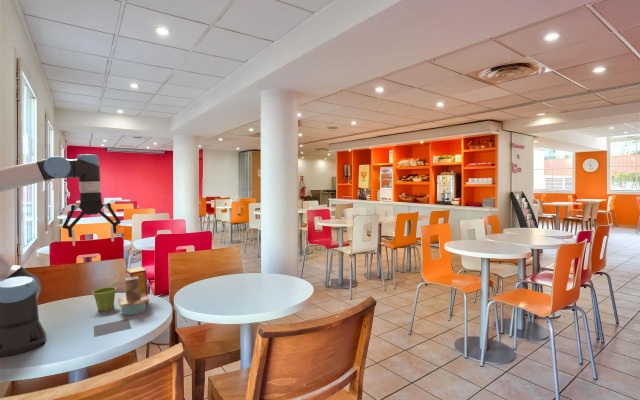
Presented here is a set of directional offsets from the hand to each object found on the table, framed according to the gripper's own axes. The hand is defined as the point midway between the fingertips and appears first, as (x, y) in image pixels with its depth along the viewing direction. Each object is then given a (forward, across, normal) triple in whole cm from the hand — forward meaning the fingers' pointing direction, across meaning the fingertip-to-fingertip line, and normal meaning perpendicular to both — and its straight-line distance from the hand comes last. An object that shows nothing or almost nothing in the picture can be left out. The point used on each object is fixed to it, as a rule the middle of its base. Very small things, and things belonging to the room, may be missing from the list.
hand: (93, 243), depth 147 cm
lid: (+27, +13, -2) cm, 30 cm away
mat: (+32, +4, -17) cm, 36 cm away
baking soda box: (+32, +16, +12) cm, 38 cm away
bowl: (+32, +13, -2) cm, 34 cm away
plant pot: (+32, +3, +11) cm, 34 cm away
